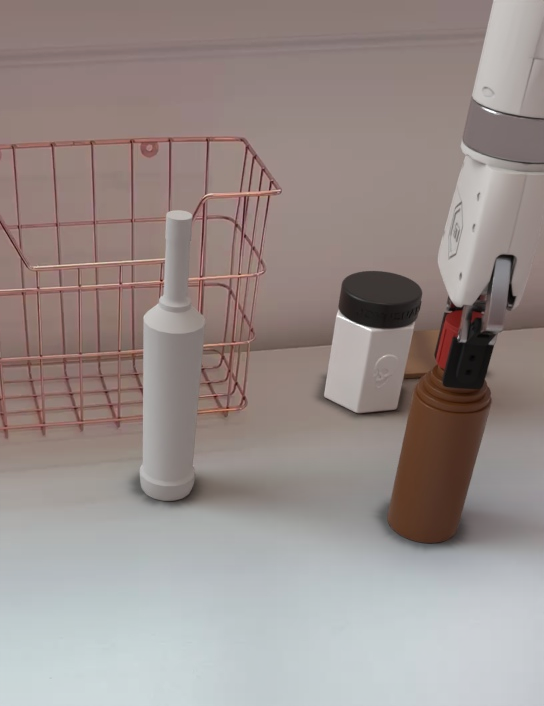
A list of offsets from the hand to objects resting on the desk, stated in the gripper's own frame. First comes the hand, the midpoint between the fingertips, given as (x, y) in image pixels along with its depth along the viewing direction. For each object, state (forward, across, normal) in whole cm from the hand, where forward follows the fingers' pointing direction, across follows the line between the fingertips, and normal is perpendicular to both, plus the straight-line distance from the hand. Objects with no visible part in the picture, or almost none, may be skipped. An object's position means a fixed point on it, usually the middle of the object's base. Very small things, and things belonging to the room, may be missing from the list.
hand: (457, 371), depth 84 cm
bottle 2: (+15, 0, 0) cm, 15 cm away
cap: (-1, 0, 0) cm, 1 cm away
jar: (+15, -23, -3) cm, 28 cm away
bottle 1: (+16, -3, -23) cm, 28 cm away
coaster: (+15, -34, +5) cm, 37 cm away
